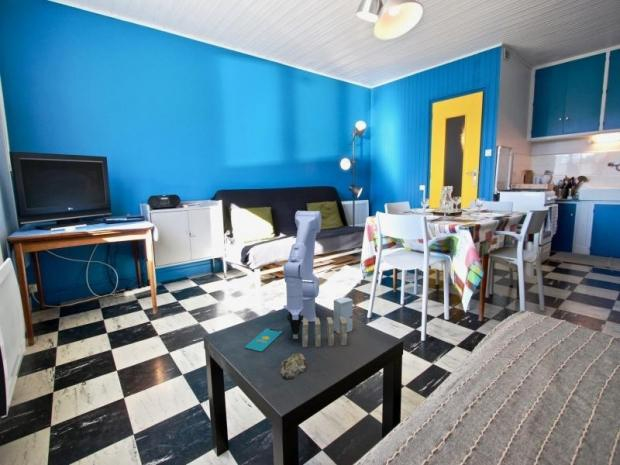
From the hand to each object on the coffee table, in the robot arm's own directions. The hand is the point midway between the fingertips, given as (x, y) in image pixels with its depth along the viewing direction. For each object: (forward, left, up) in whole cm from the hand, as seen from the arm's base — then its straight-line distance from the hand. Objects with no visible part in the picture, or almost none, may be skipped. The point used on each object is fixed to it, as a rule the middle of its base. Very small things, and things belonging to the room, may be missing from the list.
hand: (295, 330), depth 111 cm
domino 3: (+6, +8, -2) cm, 10 cm away
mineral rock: (+20, -1, -2) cm, 21 cm away
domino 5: (+6, +17, -2) cm, 18 cm away
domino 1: (0, 0, -2) cm, 2 cm away
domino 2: (+6, +3, -2) cm, 7 cm away
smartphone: (+2, -11, -3) cm, 12 cm away
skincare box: (-2, +18, -2) cm, 18 cm away
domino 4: (+6, +12, -2) cm, 14 cm away
